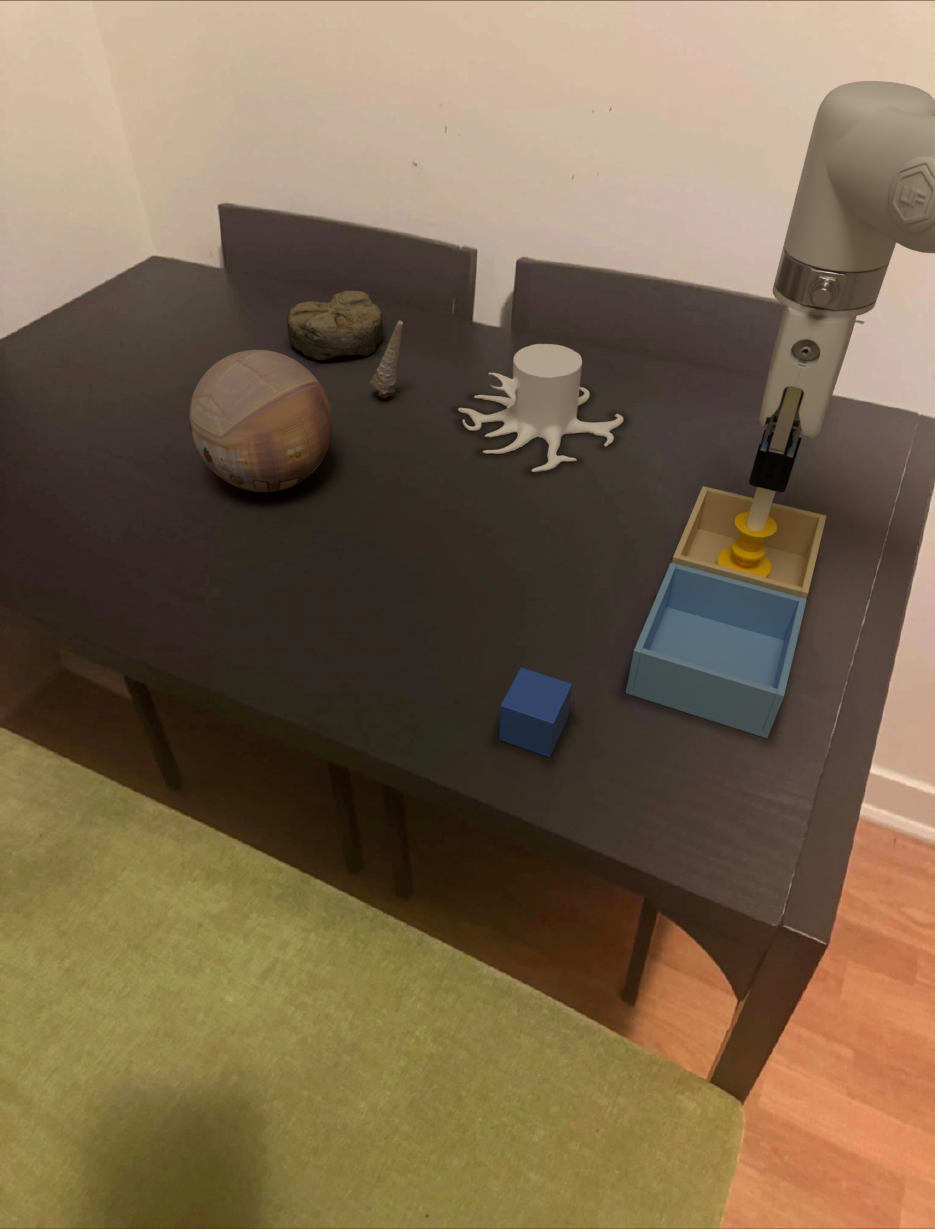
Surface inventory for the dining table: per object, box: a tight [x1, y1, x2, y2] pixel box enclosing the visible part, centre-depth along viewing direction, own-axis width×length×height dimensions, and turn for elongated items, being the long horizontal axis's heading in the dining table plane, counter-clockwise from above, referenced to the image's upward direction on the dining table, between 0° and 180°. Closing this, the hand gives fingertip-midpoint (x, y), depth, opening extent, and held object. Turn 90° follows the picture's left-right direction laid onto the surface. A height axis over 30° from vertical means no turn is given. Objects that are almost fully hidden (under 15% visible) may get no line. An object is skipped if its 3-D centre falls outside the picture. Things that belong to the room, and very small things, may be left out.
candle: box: [716, 487, 777, 578], centre depth 79 cm, size 5×5×16 cm
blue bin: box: [625, 562, 808, 739], centre depth 75 cm, size 12×12×6 cm
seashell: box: [369, 320, 404, 399], centre depth 106 cm, size 3×5×11 cm, turn 70°
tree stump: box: [457, 343, 624, 473], centre depth 103 cm, size 20×19×8 cm
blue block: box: [498, 667, 573, 758], centre depth 70 cm, size 4×4×4 cm
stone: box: [286, 290, 384, 361], centre depth 119 cm, size 13×13×5 cm
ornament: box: [188, 349, 333, 493], centre depth 92 cm, size 15×15×15 cm
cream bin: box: [671, 485, 827, 599], centre depth 83 cm, size 12×12×6 cm
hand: (769, 478), depth 77 cm, fingers closed on candle
